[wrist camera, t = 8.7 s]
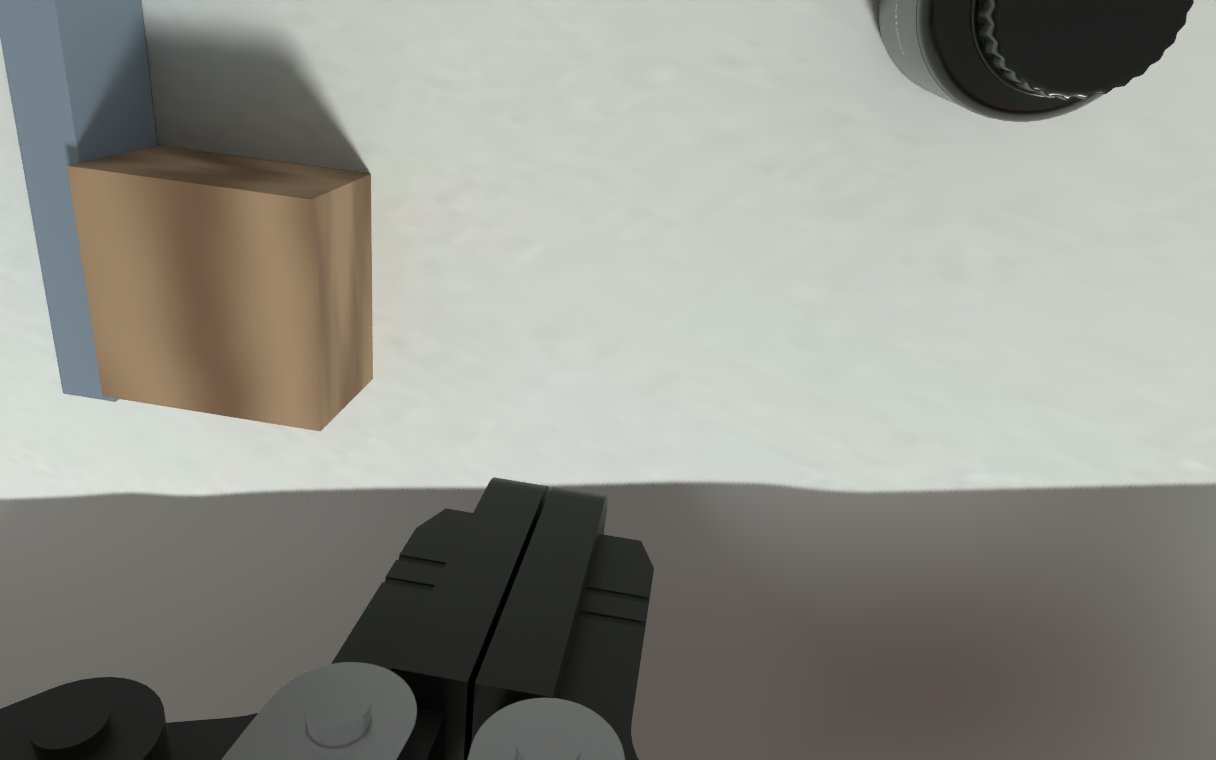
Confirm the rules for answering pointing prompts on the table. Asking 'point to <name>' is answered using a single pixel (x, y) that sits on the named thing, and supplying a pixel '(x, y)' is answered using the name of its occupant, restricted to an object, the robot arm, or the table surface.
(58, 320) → the slate board
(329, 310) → the walnut block
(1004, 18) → the supplement bottle
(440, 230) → the table surface
